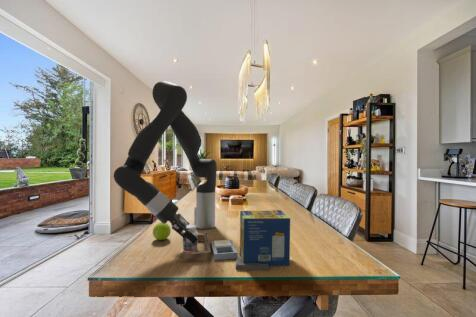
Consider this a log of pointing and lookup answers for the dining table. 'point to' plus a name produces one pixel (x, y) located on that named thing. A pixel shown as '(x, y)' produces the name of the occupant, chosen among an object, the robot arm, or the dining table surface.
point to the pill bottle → (187, 244)
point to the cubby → (198, 255)
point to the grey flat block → (251, 266)
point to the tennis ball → (161, 231)
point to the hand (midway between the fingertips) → (195, 238)
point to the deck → (223, 250)
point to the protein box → (265, 237)
